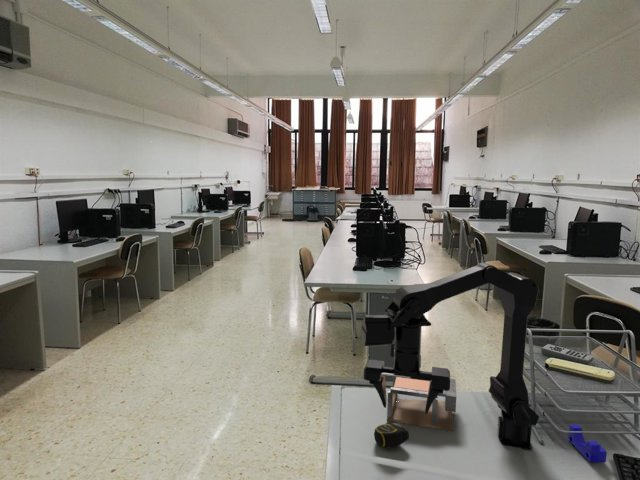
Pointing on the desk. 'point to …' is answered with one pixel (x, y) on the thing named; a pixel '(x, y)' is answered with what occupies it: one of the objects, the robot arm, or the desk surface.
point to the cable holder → (587, 446)
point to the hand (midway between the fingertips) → (405, 409)
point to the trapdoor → (424, 386)
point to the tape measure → (390, 435)
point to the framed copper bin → (417, 410)
